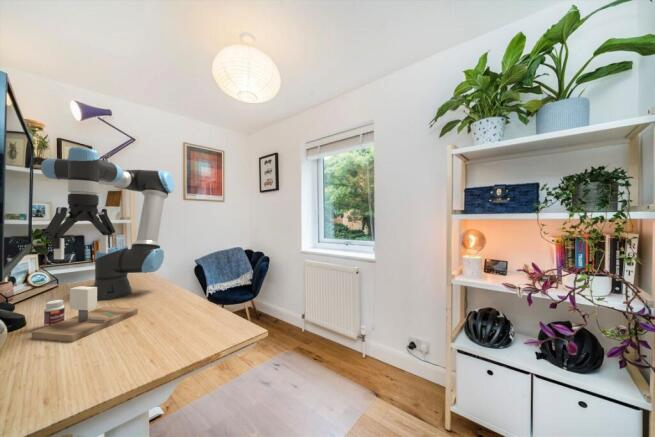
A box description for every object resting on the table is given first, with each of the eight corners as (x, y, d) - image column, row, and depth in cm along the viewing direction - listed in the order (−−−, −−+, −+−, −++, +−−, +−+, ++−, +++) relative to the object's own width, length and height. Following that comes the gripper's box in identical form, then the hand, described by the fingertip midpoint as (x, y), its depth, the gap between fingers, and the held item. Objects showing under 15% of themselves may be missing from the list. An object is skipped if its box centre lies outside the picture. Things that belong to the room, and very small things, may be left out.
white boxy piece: (79, 317, 86) (79, 286, 86) (109, 320, 85) (109, 287, 85) (69, 321, 83) (69, 288, 83) (100, 323, 82) (100, 290, 82)
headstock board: (104, 311, 98) (104, 306, 98) (137, 313, 96) (137, 308, 96) (31, 338, 76) (31, 331, 76) (73, 341, 74) (73, 334, 74)
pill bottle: (50, 329, 82) (50, 304, 82) (40, 328, 83) (40, 303, 83) (68, 323, 87) (68, 299, 87) (58, 322, 88) (58, 298, 88)
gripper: (110, 197, 97) (110, 250, 97) (25, 189, 72) (24, 261, 72) (127, 197, 96) (126, 251, 96) (46, 189, 71) (46, 262, 71)
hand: (83, 255), depth 84 cm, fingers open, 13 cm apart
